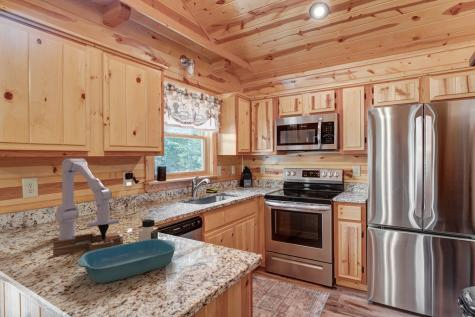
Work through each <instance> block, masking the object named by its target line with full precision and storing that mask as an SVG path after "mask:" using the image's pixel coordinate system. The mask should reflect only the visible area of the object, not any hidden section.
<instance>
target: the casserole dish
mask: <svg viewBox="0 0 475 317" xmlns="http://www.w3.org/2000/svg"><path fill="white" fill-rule="evenodd" d="M175 250H176V243H175V242H174V241H172V240H169V239H162V238H158V239H148V240H142V241H138V240H137V241H134V242H133V241H132V242H129V243H127V242H126V243H124V244H123V243H121V244H116V245H114V246H112V247H107V248H102V249H98V250H94V251H90V252H89V251H88V252H85V253H84V254H82V256H81V257H80V258H79V259H78V260H77V261H76V264H77V266H79V267H80V268H84V269H85V271H86V273H87V275H88V276H89V277H90V279H91V280H93V281H94V282H95V283H98V284H106V283H105V282H107V283H110V282H111V281H112V282H116V281H119V279H120V280H123V279H127V278H131V277H133V275H134V276H137V275H140V273H141V274H144V273H143V272H145V273H147V271H148V272H151V271H154V269H155V270H157V268H158V269H160V267H161V268H164V267H166V266H168V264H170V262H172V259H173V258H174V254H175ZM165 265H166V266H165ZM163 266H164V267H163ZM150 270H151V271H150ZM130 276H131V277H130ZM126 277H127V278H126ZM115 280H116V281H115Z"/></svg>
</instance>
